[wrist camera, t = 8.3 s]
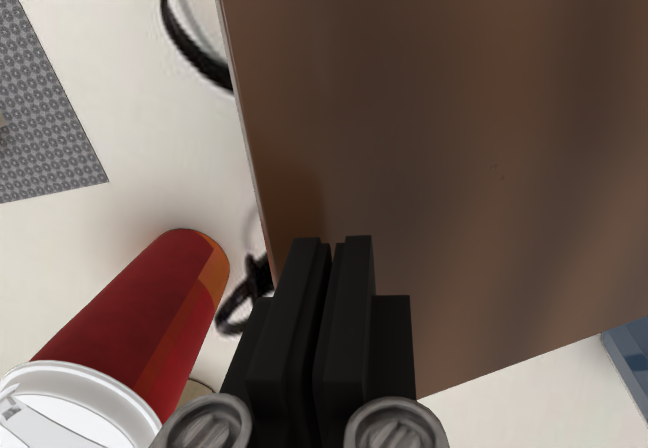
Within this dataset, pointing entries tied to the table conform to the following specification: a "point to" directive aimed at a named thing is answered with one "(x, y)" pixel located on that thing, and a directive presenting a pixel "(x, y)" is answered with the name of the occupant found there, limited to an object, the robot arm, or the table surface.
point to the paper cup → (120, 353)
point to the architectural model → (37, 119)
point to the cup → (631, 360)
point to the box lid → (457, 160)
